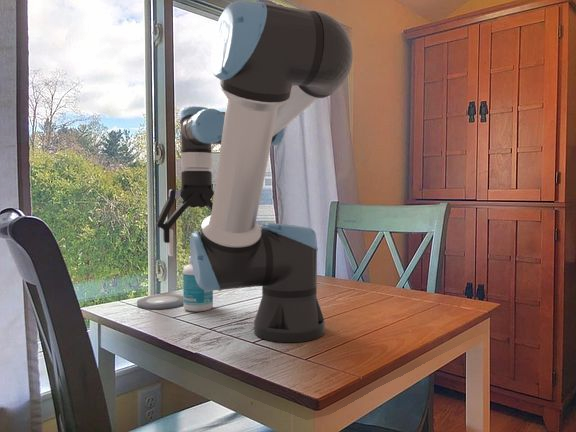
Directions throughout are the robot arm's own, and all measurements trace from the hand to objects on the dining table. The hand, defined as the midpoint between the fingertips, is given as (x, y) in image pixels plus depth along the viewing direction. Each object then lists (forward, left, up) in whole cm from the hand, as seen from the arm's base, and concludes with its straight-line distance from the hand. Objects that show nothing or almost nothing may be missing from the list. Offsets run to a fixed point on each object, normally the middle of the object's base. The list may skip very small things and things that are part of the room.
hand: (197, 254), depth 122 cm
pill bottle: (0, 0, -14) cm, 14 cm away
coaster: (+10, +7, -14) cm, 18 cm away
